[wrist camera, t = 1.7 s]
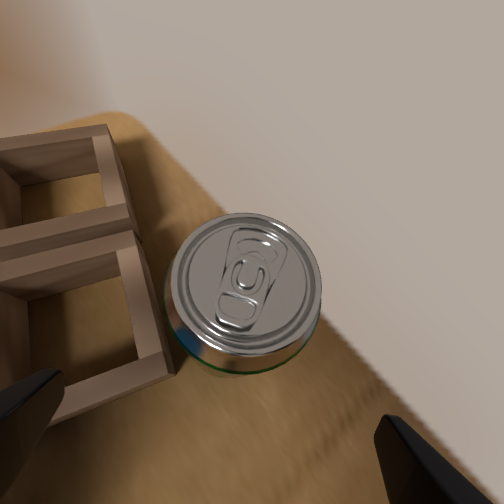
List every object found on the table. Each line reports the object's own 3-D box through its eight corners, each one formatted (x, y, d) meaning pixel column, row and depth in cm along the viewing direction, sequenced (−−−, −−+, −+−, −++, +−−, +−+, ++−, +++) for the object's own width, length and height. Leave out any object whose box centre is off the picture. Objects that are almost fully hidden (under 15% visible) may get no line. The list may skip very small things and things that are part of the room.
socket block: (176, 375, 17) (159, 372, 11) (-24, 456, 14) (-172, 504, 8) (120, 157, 24) (93, 92, 18) (-21, 182, 21) (-102, 113, 15)
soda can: (272, 314, 19) (346, 231, 9) (251, 389, 17) (318, 403, 6) (206, 292, 19) (198, 182, 9) (177, 363, 17) (117, 334, 6)
